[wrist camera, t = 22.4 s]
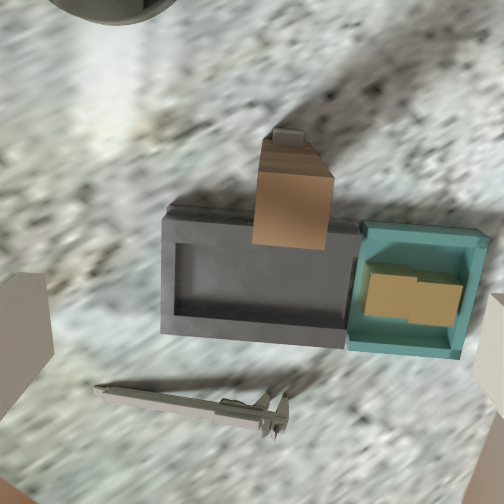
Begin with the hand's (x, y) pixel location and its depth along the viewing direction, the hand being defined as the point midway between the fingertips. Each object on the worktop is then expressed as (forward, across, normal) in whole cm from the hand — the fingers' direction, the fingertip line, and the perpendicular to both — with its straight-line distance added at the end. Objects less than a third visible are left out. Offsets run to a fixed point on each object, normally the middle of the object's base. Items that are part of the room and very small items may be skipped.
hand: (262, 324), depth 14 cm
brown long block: (+29, +1, 0) cm, 29 cm away
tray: (+29, +14, -11) cm, 34 cm away
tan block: (+28, +15, -11) cm, 34 cm away
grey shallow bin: (+29, 0, -10) cm, 31 cm away
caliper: (+29, -7, -24) cm, 39 cm away
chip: (+28, +11, -10) cm, 32 cm away
